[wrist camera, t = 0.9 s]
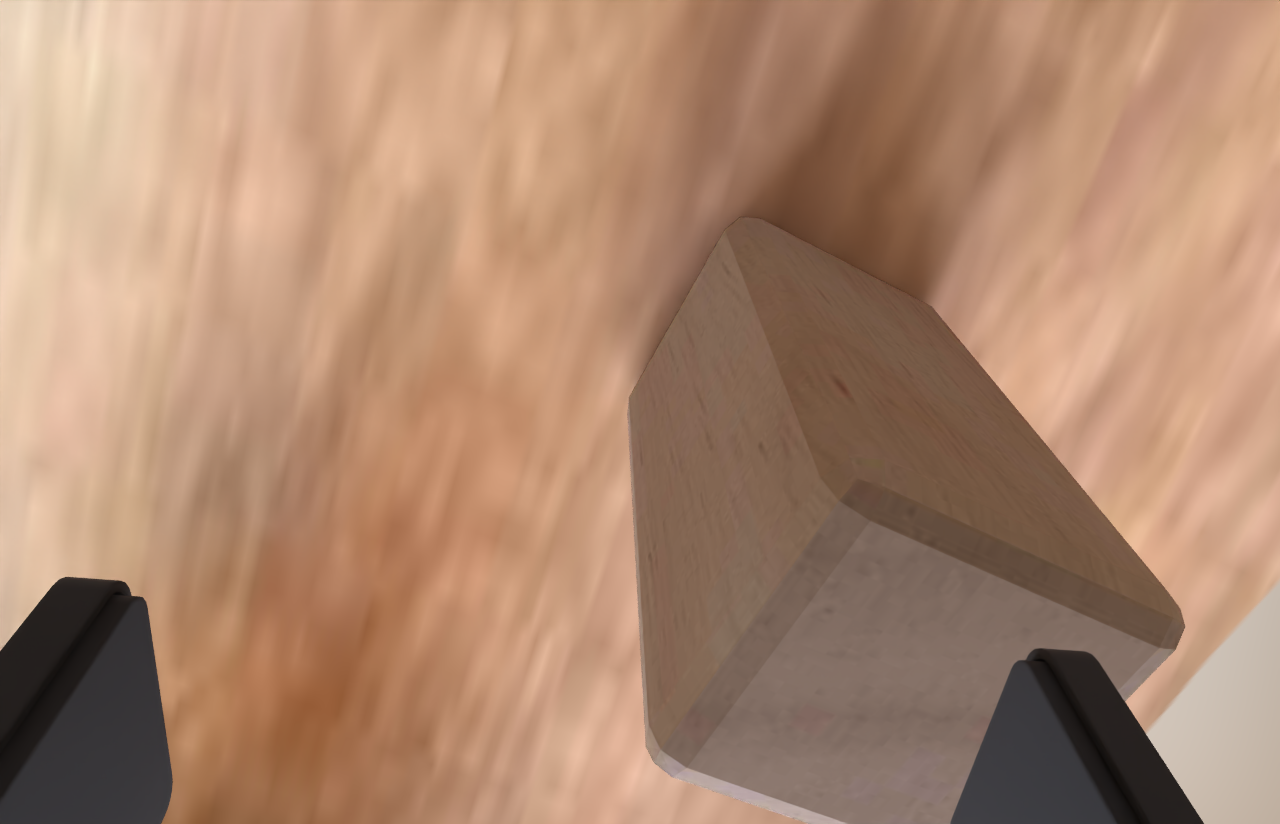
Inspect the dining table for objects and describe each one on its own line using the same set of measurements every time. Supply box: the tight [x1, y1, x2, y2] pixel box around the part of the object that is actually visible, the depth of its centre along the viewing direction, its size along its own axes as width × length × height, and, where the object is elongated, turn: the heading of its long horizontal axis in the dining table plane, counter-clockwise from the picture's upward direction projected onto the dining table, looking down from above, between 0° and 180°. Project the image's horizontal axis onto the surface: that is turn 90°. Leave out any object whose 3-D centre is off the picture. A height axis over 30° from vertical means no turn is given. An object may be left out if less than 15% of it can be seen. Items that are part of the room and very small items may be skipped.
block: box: [628, 217, 1185, 824], centre depth 32 cm, size 10×10×20 cm
